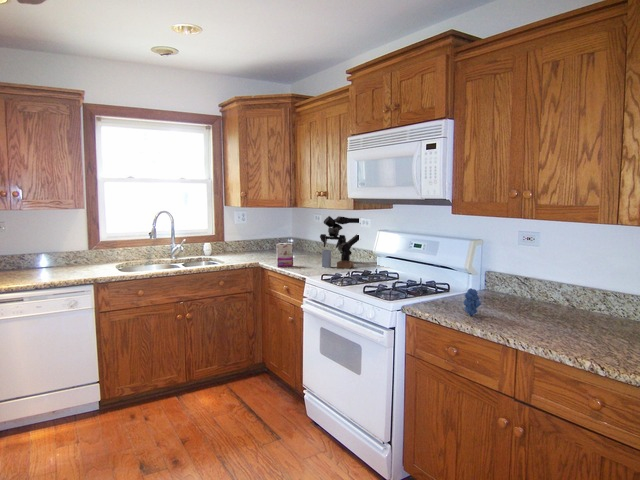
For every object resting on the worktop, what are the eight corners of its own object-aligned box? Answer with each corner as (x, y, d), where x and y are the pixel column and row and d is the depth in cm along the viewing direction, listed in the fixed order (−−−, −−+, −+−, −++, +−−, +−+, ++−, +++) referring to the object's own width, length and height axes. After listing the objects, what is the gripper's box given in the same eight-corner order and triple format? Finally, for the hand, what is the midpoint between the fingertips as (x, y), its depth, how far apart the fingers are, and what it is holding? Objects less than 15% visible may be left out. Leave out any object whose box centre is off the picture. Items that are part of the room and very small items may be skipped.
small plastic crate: (324, 266, 316) (324, 249, 315) (331, 266, 315) (331, 250, 313) (321, 267, 312) (322, 250, 310) (328, 267, 310) (328, 250, 309)
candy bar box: (291, 265, 318) (291, 242, 317) (293, 266, 314) (293, 243, 312) (276, 266, 315) (276, 243, 314) (277, 267, 311) (277, 243, 309)
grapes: (474, 320, 183) (475, 291, 182) (458, 316, 188) (460, 289, 187) (486, 315, 191) (488, 287, 190) (471, 312, 196) (473, 285, 195)
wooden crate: (340, 266, 318) (340, 260, 318) (353, 266, 315) (353, 261, 315) (336, 268, 310) (336, 262, 309) (349, 268, 306) (349, 263, 306)
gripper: (320, 223, 325) (315, 239, 316) (345, 223, 319) (340, 240, 310) (324, 233, 334) (319, 249, 324) (348, 234, 327) (343, 250, 318)
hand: (330, 247), depth 319 cm, fingers open, 9 cm apart
